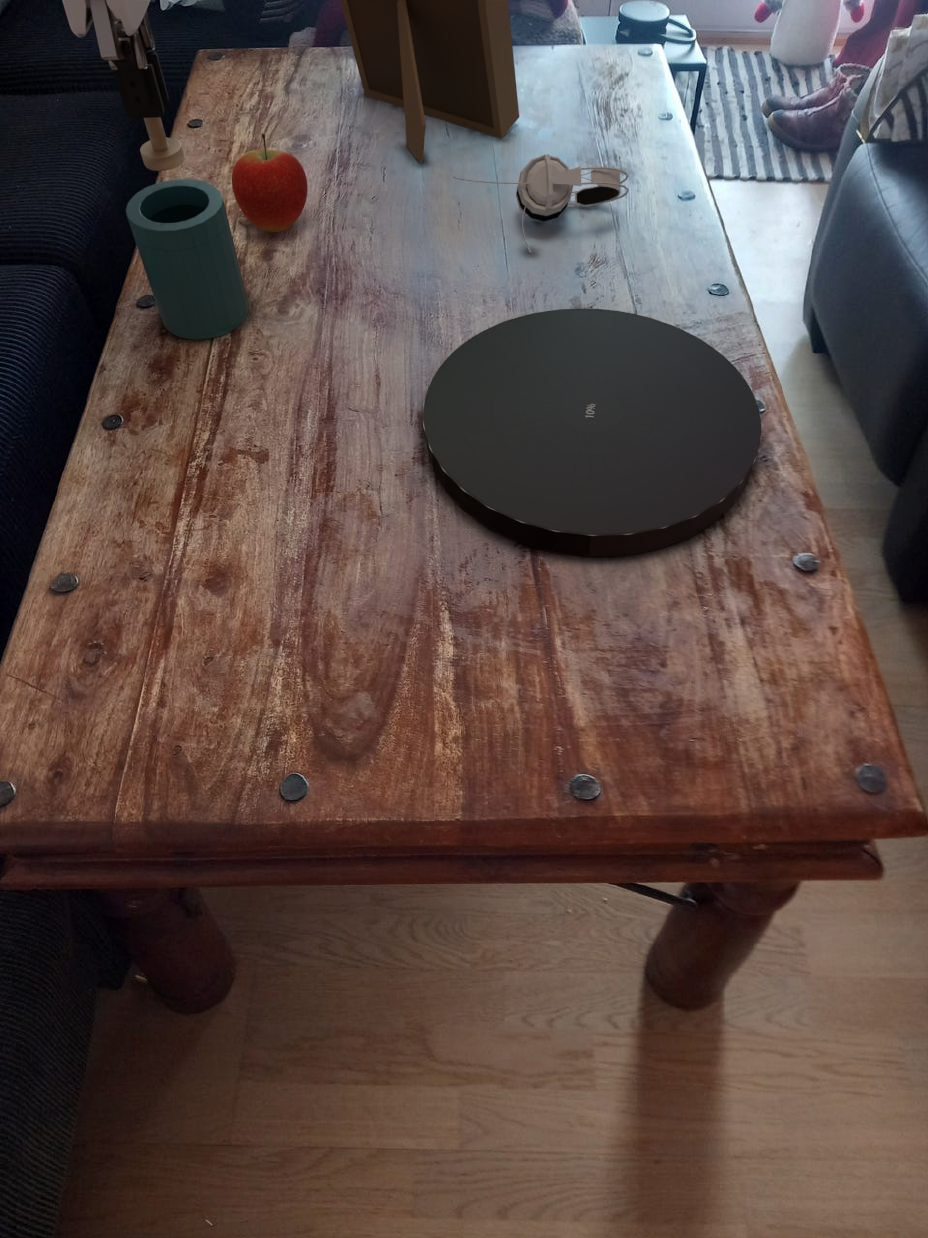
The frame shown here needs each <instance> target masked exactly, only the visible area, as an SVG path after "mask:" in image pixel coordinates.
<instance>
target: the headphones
mask: <svg viewBox="0 0 928 1238" xmlns="http://www.w3.org/2000/svg"><path fill="white" fill-rule="evenodd" d="M583 170H585V171H586V170H591V171H590V172H587V173H583V174H582V171H583ZM621 173H622V174H623V175H625V178H624V179H622V180H621ZM589 174H590V179H589V178H587V177H583V176H585V175H589ZM452 178H453V179H456V180H461V181H467V182H473V183H481V184H499V185H517V186H516V193H515V198H516V201H517V206H518V208H519V210H520V211H521V212H522V217H521V228H522V229H521V230H522V234H523V239H524V242H525V244H526V248H527V250H528V253H529V254H532V253H533V251H532V249H531V248H530V247H529V244H528V242H527V239H526V235H525V231H524V215H525V216H526V217H527V218H528V219H529V220H532V221H536V222H539V223H545V222H549V221H551V220H555V219H558V218H559V217H560V215H562V213H563V212H564V211H565V210H566V209H567V208H578V207H591V206H597V205H602V204H606V203H610V202H614V201H616V200H619V199H622V198H624V197H625V196H627V195H628V193H629V191H630V189H629V188H628V187H627V186H626V185H625V184H623V183H625V182H626V181H627V180H628V179H629V174H628V173H627V172H626V171H625V170H623V169H620V168H616V167H610V166H609V167H608V166H590V167H589V166H588V167H582V166H578V167H574V168H571V169H570V167H569V165H568V166H567V164H565V162H564V161H563V160H562V159H560V158H559V157H558V156H553V155H550V154H543V155H540V156H537V157H534V158H532V159H531V160H529V161H528V162H527V164H526V165H525V166H524V167H523V169H522V170H521V171H520V172H519V177H518V182H502V181H485V180H475V179H467V178H461V177H457V176H453V177H452ZM582 179H585V180H587V181H588V182H587V181H586V182H582ZM583 185H595V186H590V187H583V188H581V189H580V190H573V188H574V186H577V187H582V186H583ZM621 188H624V189H625V190H626V191H625V192H624V193H623V194H622V195H621V190H622V189H621ZM572 196H574V200H571V197H572ZM569 202H571V203H575V204H569Z"/></svg>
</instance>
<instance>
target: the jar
mask: <svg viewBox="0 0 928 1238" xmlns="http://www.w3.org/2000/svg"><path fill="white" fill-rule="evenodd" d="M125 214H126V218H127V222H128V223H129V224H128V225H129V226H130V227H129V228H130V230H131V232H132V236H133V239H134V242H135V245H136V248H137V250H138V253H139V257H140V259H141V263H142V265H143V269H144V272H145V274H146V278H147V281H148V283H149V286H150V290H151V293H152V296H153V298H154V302H155V305H156V307H157V310H158V313H159V316H160V319H161V322H162V324H163V326H164V328H165V329H166V330H167V331H168V332H169V333H170V334H172V335H174V336H175V337H178V338H181V339H185V340H194V341H197V340H199V341H200V340H210V339H215V338H219V337H222V336H224V335H226V334H229V333H231V332H232V331H234V330H235V329H237V328H239V326H241V325H242V324H243V323H244V321H246V318H247V316H248V314H249V310H250V308H249V307H250V306H249V300H248V297H247V291H246V288H245V283H244V280H243V276H242V270H241V268H240V262H239V258H238V255H237V251H236V247H235V242H234V238H233V234H232V230H231V227H230V226H231V225H230V221H229V217H228V213H227V207H226V205H225V201H224V197H223V195H222V191H221V190H219V189H218V188H217V187H216V186H214V184H212V183H209V182H206V181H204V180H199V179H194V178H193V179H191V178H178V179H177V178H176V179H169V180H164V181H160V182H157V183H154V184H151V185H149V186H146V187H144V188H142V189H141V190H140V191H138V192H136V193H135V194H134V195H133V196H132V197H131V198H130V200H128V202H127V205H126V207H125Z"/></svg>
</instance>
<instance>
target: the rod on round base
mask: <svg viewBox="0 0 928 1238" xmlns="http://www.w3.org/2000/svg"><path fill="white" fill-rule="evenodd" d="M121 40H122V41H123V40H127V41H128V42H129V43H130V44H131V42H130V39H129V38H121ZM143 120H144V124H145V127H146V131H147V134H148V135H147V136H148V139H149V140H147V141H146V142H144V143H143V144H142V145H141V147H140V149H139V152H140V156H141V158H142V162H143V165H144V167H145V168H146V169H148V170H150V171H154V172H166V171H170V170H173V169H176V168H178V167H180V166H181V165H182V164H183V163H184V162H185V154H184V150H183V146H182V143H181V142H180V140H178V139H176V138H173V137H167V136H166V133H165V128H164V124H163V122H162V117H155V118H143Z"/></svg>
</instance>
